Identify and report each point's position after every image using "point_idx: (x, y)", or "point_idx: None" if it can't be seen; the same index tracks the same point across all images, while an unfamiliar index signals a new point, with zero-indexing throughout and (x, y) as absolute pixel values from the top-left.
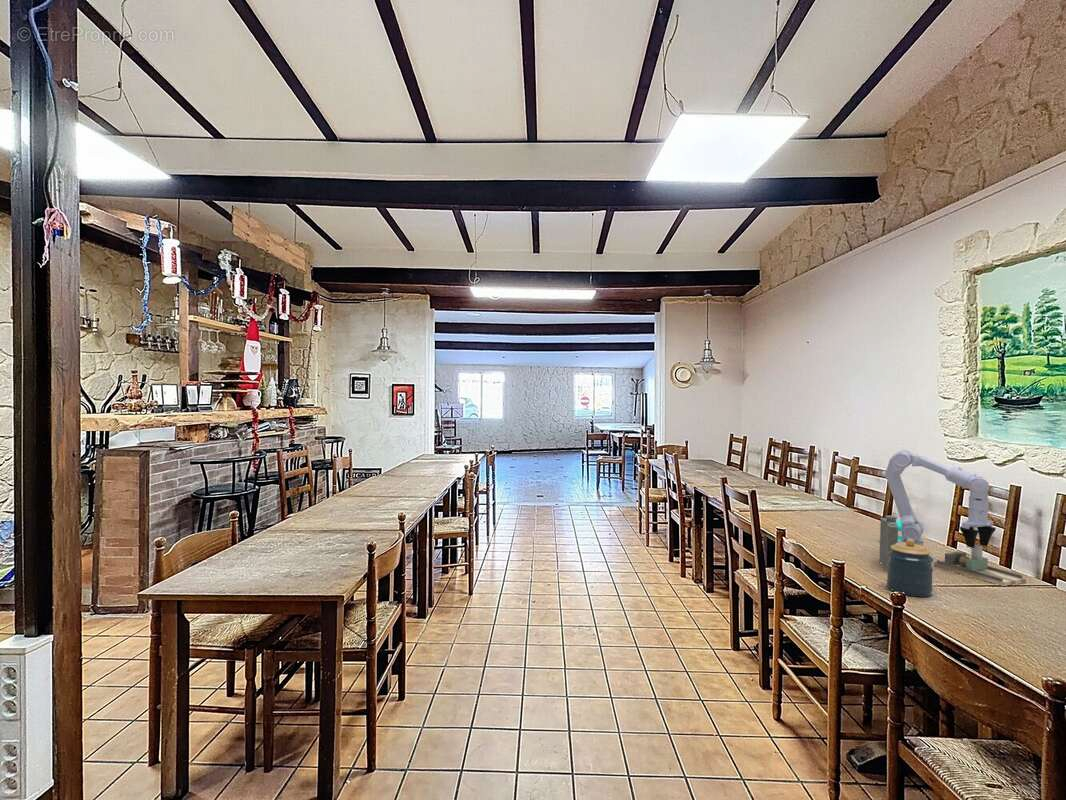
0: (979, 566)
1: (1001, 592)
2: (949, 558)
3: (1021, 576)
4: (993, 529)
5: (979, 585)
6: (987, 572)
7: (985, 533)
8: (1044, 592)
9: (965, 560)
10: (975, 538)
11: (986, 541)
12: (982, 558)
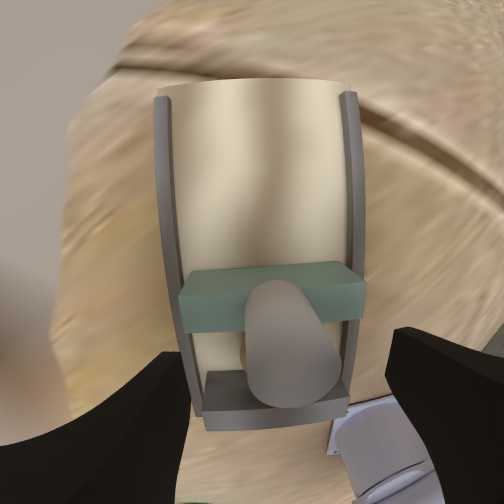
0: (270, 273)
1: (414, 69)
2: (343, 385)
3: (165, 97)
4: (13, 498)
5: (423, 149)
6: (252, 229)
7: (141, 486)
8: (231, 3)
9: None
10: (476, 365)
11: (167, 387)
12: (222, 306)
